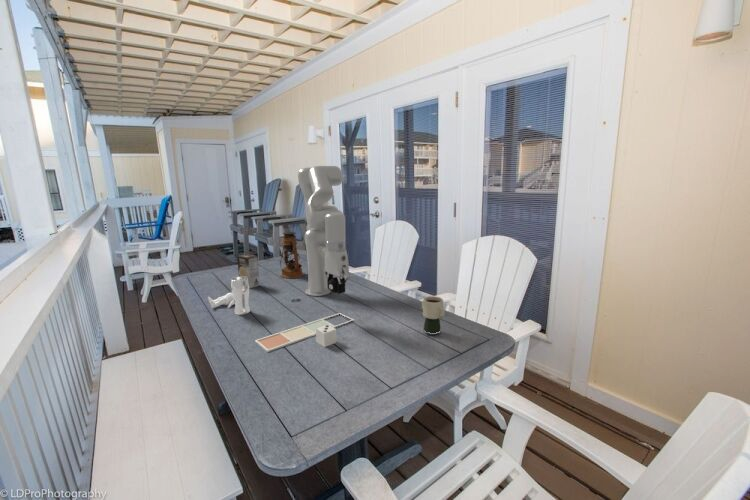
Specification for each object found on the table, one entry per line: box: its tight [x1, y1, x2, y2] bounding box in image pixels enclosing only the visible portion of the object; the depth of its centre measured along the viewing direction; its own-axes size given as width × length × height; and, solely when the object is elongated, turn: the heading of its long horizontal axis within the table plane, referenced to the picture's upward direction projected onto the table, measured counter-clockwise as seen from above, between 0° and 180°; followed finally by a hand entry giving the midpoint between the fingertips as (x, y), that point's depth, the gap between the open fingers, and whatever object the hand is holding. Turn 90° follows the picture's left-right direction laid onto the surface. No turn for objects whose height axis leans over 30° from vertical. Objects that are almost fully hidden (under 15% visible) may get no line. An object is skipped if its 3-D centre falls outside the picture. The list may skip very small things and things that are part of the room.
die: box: [315, 325, 337, 348], centre depth 119 cm, size 5×5×5 cm
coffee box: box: [236, 253, 260, 289], centre depth 179 cm, size 9×6×16 cm
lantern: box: [279, 224, 304, 279], centre depth 196 cm, size 17×13×30 cm
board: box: [254, 312, 355, 353], centre depth 128 cm, size 37×10×1 cm, turn 132°
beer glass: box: [230, 275, 251, 316], centre depth 144 cm, size 7×7×15 cm
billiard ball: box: [328, 276, 339, 294], centre depth 135 cm, size 6×6×6 cm
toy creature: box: [207, 292, 235, 309], centre depth 154 cm, size 12×6×12 cm
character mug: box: [421, 295, 446, 333], centre depth 126 cm, size 11×7×13 cm, turn 37°
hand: (336, 290), depth 135 cm, fingers closed on billiard ball, 6 cm apart
